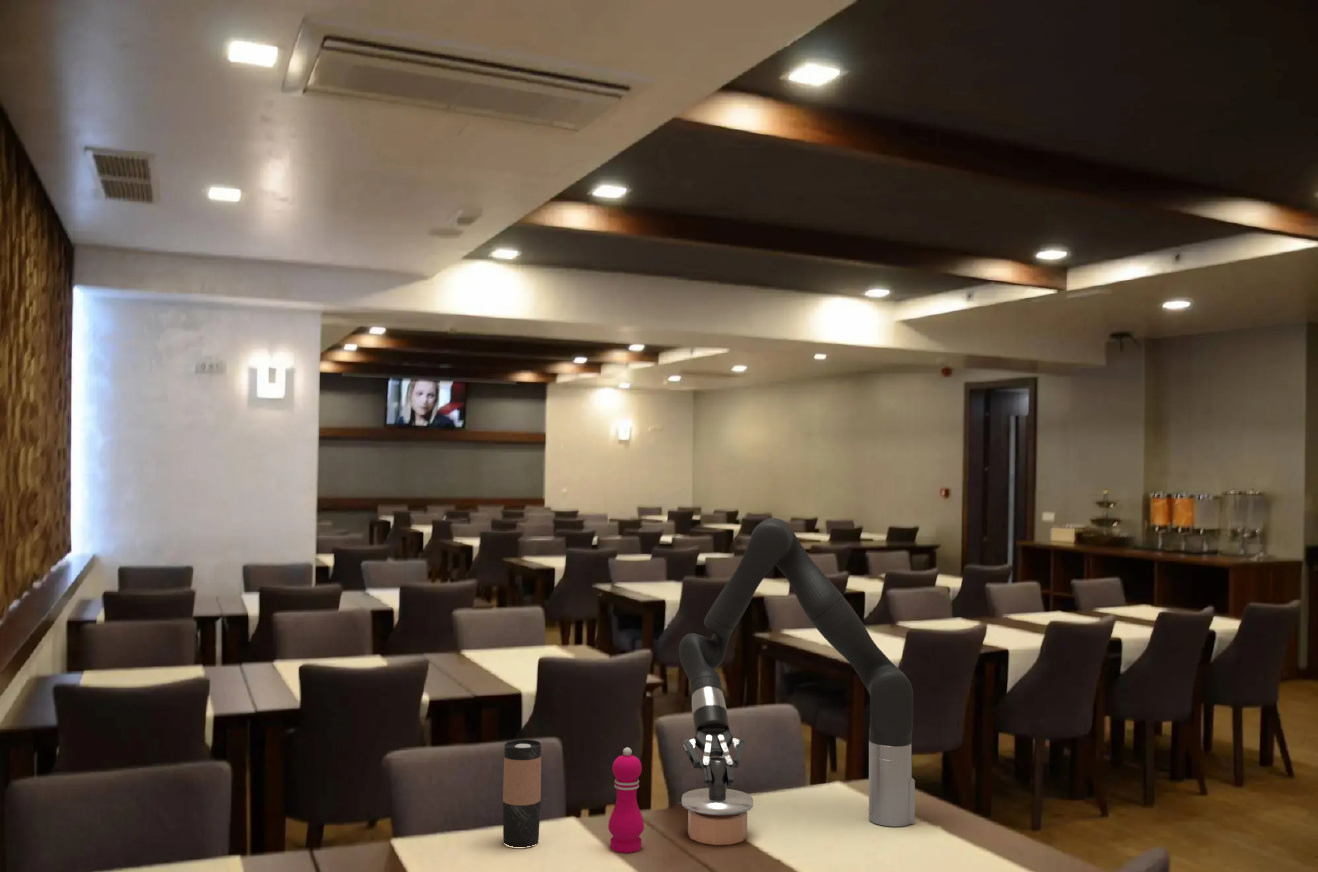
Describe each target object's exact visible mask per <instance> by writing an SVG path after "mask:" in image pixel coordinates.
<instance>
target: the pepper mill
mask: <svg viewBox="0 0 1318 872" xmlns="http://www.w3.org/2000/svg"><path fill="white" fill-rule="evenodd" d="M632 752H633V751H632V749H631V748H630V747H625V748H623V750H622V755H619V756H617V758H615V760H614V761H613V763H612V768H611V770H612V774H613V776H614V777H615V779H614V788H615V789H616V801H615V805H614V808H613V810H612V811H611V814H610V816H609V820H608V827H607V828H608V831H609V833H610V834H611V835H612V836H611V838H610V849H611V850H612V851H613V852H616V853H622V854H629V853H636V852H639V851H641V849H642V838H641V837H640V836H641V834H642V833H644V829H645V821H644V818H643V815H642V813H641V810H640V807H639V805H638V800H637V799H638V798H637V791H638V788H639V787H640V785H639V783H640V780H639V779H638V778H639V777H641V774H642V772H643V771H642V770H643V767H642V766H643V765H642V762H641V761H640V759H639V758H638V757H637V756H635V755H632Z"/></svg>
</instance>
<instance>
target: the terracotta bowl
mask: <svg viewBox="0 0 1318 872" xmlns="http://www.w3.org/2000/svg"><path fill="white" fill-rule="evenodd" d="M687 811H688V812H687V813H688V815H687V817H688V819H687V821H688V822H687V834H688V837H689V839H691V840H693V841H695V842H697V843H700V844H707V845H713V846H723V845H724V846H725V845H735V844H738V843H742V842H744V840H746V838H748V811H746V812H743V813H739V814H733V815H709V814H702V813H697V812H694V811H691V810H688V809H687Z"/></svg>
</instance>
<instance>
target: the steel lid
mask: <svg viewBox="0 0 1318 872" xmlns="http://www.w3.org/2000/svg"><path fill="white" fill-rule="evenodd" d="M709 766H710V770H711V777H712V784H711V786H708V787H705V788H696V789H692V790H689V791H685V792H684V793H683V794H682V796H681V805H682V807H683V808H685V809H686V810H687V811H688V810H691V811H694V812H697V813H702V814H709V815H733V814H739V813H743V812H746V811H747V812H748V811H750V810H752V809H753V807H754V798H753V797H752V796H751V795H750V794H748V793H746V792H744V791H741V790H738V789H737V790H736V789H732V788H727V784H726V759H724V758H720V757H709Z"/></svg>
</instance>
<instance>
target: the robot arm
mask: <svg viewBox="0 0 1318 872" xmlns="http://www.w3.org/2000/svg"><path fill="white" fill-rule="evenodd" d="M745 548H746V549H745V551H744V554H743V556H742V559H741V560H740V562H739V564H738V566H737V567H736V570H735V571H734V573H733V574H732V576H731V577H730V579H729V580H728V582H727V583H726V584H725V586H724V587H723V589H722V590H721V592H720V593H719V595H718V596H717V598H716V599H715V601H714V602H713V603H712V605H711V607H710V608H709V611H708V612H707V613H706V615H705V617H704V619H703V624H704V626H705V628H707V630H708V631H710V632H711V633H712V636H711V638H709V637H706V636H704V635H701V634H697V633H693V632H690V633H687V634H686V635H685V636H683V637H682V639H681V640H680V642H679V645H678V657H679V660H680V663H681V665H682V668H683V671H684V673H685V675H686V677H687V680H688V681H689V685H690V695H691V713H692V714H691V715H692V718H693V725H694V726H693V727H694V737H693V738H692V739H689V738H686V739H684V741H683V746H682V748H683V749H682V750H684V752H685V754H686V756H687V757H688V760H689V761H690V764H691V766H692V768H694V769H700V770H701V771H702V779H703V783H704V784H705V785H706V786H707V787H709V786H711V784H712V777H711V770H710V766H709V759H710V758H711V757H714V756H715V757H719V758H724V759H726V787H730V786H731V785H732V784H733V781H734V779H735V774H734V768H735V769H737V768H738V767H739V765H740V762H741V758H742V755H743V750H744V748H745V747H744V746H745V743H746V740H745V739H744V738H742V737H741V738H739V739H738V738H736V737H735V738H734V737H733V735H732V733H731V731H730V725H729V719H728V712H727V711H728V710H727V706H726V699H725V697H724V693H723V686H722V680H721V677H720V673H719V672H718V671H717V670H716V669H717V668H718V667H720V666H721V664H722V663H723V660H724V658H725V655H726V651H727V647H728V644H729V641H730V638H731V636H732V633H733V631H734V629H735V628H736V626H737V625H738V623H739V622H740V620H741V619H742V617H743V615H744V614H745V612H746V611H747V608H748V607H749V604H750V603H751V601H752V598H753V597H754V594H755V593H756V591H757V589H758V588H759V586H760V584H761V583H762V582H763V580H764V579H765V577H766V576H767V574H769V572H770V571H771V570H772V569H773V567H775V566H776V567H777V569H778V570H779V571H780V572H781V574H783V576H784V577H785V578H786V580H787V582H788V583H789V585H790V586H791V588H792V590H793V592H794V594H795V597H796V599H797V601H798V602H799V605H800V607H801V608H802V611H803V612H804V613H805V615H806V616H807V619H808V620H809V621H810V622H811V623H812V624H813V626H814V627H815V628H816V629H817V631H818V632H819V633H820V635H821V636H822V637H823V638H824V639H825V641H827V642H828V643H829V645H830V646H832V648H834V649H835V651H836V652H838V654H840V655H841V656H842V657H843V658H844V659H845V660H846V661H847V662H848V663H849V664H850V665H851V667H852V668H853V670H854V671H855V672H856V674H857V675H858V677H859V678H860V680H861V681H862V683H863V685H864V687H865V688H866V690H867V692H868V693H869V697H870V698H869V703H870V706H869V708H870V709H869V710H870V712H869V720H870V721H869V730H868V820H869V821H870V822H872V823H873V824H876V825H880V826H884V827H894V828H895V827H896V828H897V827H905V826H909V825H914V824H916V817H915V816H916V812H915V811H916V810H915V809H916V794H915V793H916V787H915V784H916V780H915V779H914V778H913V777H912V735H913V730H914V689H913V686H912V683H911V681H910V680H909V678H908V677H907V675H906V674H905V673H904V672H903V671H902V670H901V669H900V668H898V667H897V665H895V663H894V662H892V661H891V660H890V658H888V657H887V655H886V654H885V653H884V652H883V651H882V650H881V649H880V648H879V647H878V645H877V644H876V643H875V641H874V639H873V638H872V637H871V635H870V633H869V632H868V630H867V628H866V626H865V625H864V623H863V621H862V620H861V618H860V617H859V615H858V614H857V613H856V611H855V610H854V608H853V607H852V606H851V604H850V603H849V602H848V600H847V599H846V598H845V597H844V595H843V594H842V593H841V591H839V589H838V588H837V587H836V586H835V585H834V583H832V581H831V580H830V579H829V577H828V576H827V575H825V573H824V572H823V571H822V570H821V569H820V568H819V566H817V565H816V564H815V562H814V561H813V559H812V558H811V557H810V555H809V554H808V553H807V551H806V550H805V548H804V546H803V545H802V543H801V542H800V540H799V539H798V537H797V535H796V533H795V532H794V531H793V529H792V527H791V526H790V525H789V524H788V523H787V522H786V521H784V520H782V519H780V518H776V517H769V518H766V519H763V520H762V521H760V522H759V524H758V525H756V526H755V527H754V529H753V530H752V533H751V534H750V539H749V540H748V544H747V546H746V547H745ZM731 745H733V749H734V750H735V751H736V752H735V755H734V758H733V759H732V757H731V755H730V750H729V748H730V747H731ZM696 747H697V748H698V749H699V750H700V751H701V752H702V753H703V754H702V759H700V756H699V755H698V753H697V751H696V750H695V748H696Z"/></svg>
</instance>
